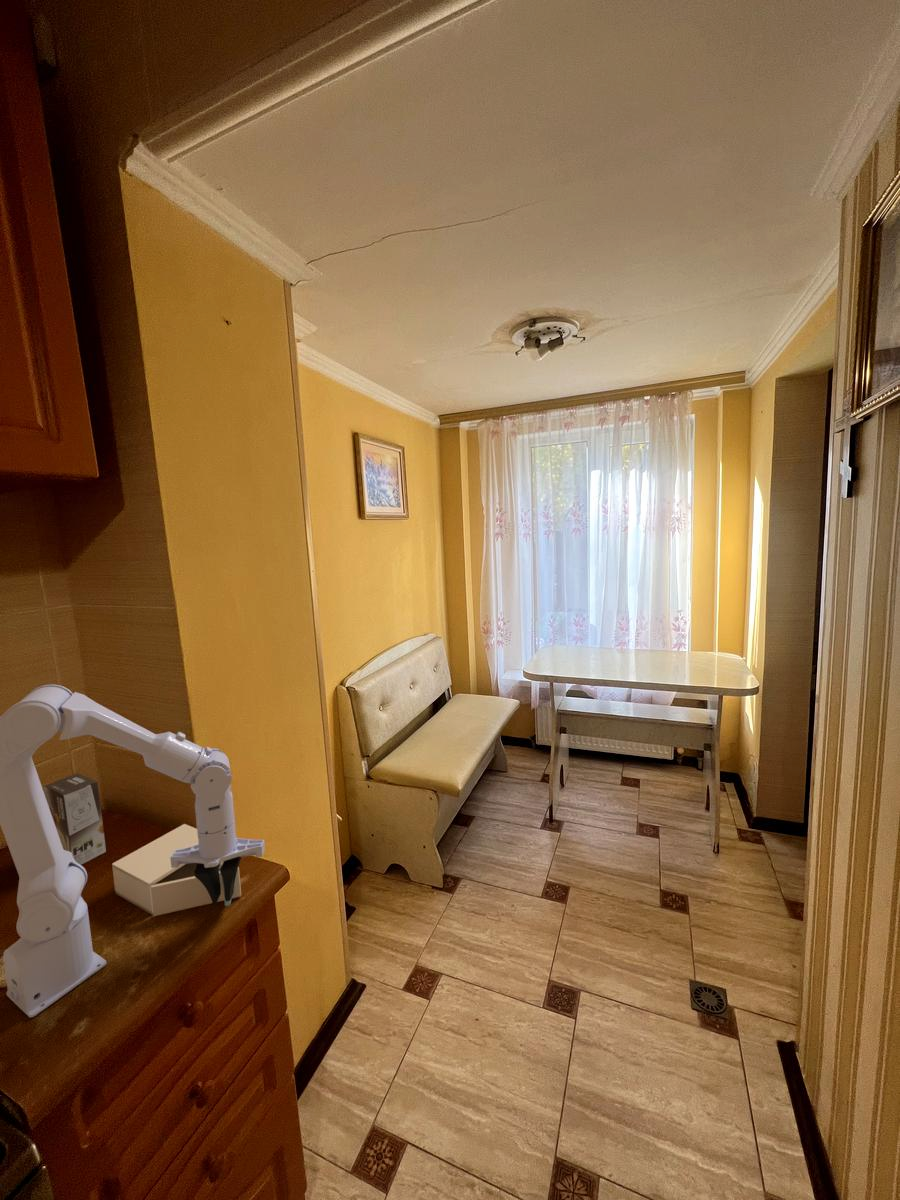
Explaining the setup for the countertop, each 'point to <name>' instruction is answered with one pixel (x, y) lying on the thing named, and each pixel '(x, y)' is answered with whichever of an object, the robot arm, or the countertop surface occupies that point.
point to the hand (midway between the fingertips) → (223, 897)
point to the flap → (186, 894)
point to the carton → (153, 867)
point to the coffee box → (77, 816)
